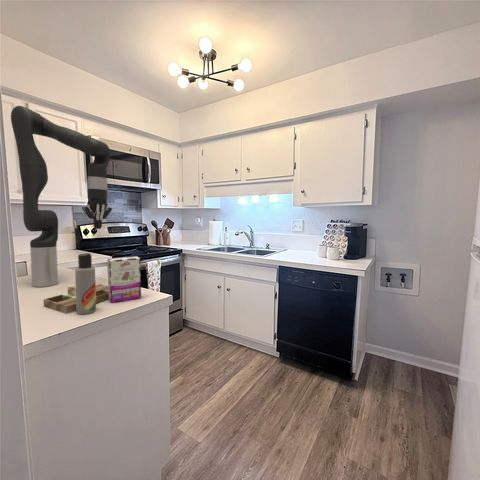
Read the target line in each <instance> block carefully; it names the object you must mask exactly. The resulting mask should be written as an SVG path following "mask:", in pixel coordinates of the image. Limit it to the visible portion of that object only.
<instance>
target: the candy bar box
mask: <svg viewBox="0 0 480 480" xmlns="http://www.w3.org/2000/svg"><path fill="white" fill-rule="evenodd" d="M141 278H142V277H141V257H139V256H123V257H114V258H107V280H108V281H107V283H108V284H107V286H108V289H109V300H108V301H109V303H111V304H114V303H115V304H116V303H121V302H126V301H131V300H138V299H141V298H142V285H141V284H142V282H141V280H142V279H141Z"/></svg>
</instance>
